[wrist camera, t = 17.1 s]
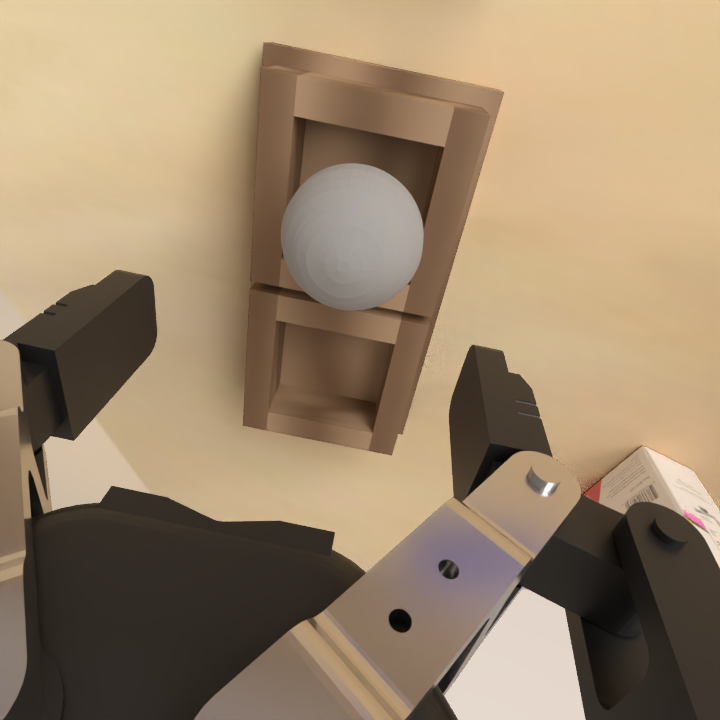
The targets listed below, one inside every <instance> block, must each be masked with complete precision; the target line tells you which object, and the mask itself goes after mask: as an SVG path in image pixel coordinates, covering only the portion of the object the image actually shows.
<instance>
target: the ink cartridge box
mask: <svg viewBox="0 0 720 720" xmlns="http://www.w3.org/2000/svg"><path fill="white" fill-rule="evenodd" d="M583 495H584V496H586V497H587V498H589V499H591V500H593V501H595V502H598V503H600V504H602V505H604V506H607V507H609V508H611V509H613V510H615V511H618V512H620V513H622V514H625V513H626V511H627V510H628V509H629V507H630V506H631V505H633V504H634V503H637V502H652V503H656V504H659V505H662V506H665V507H667V508H669V509H671V510H673V511H675V512H676V513H678V514H680V515H681V516H683V517H684V518H685V519H687V520H688V521H689V522H690V523H691V524H692V525H693V526H695V528H696V529H697V530H698V531H699V532H700V533H701V534H702V536H703V537H704V538H705V540H706V542H707V544H708V546H709V548H710V550H711V552H712V554H713V556H714V558H715V560H716V562H717V564H718V566H719V568H720V511H719V509H718V508H717V506H716V505H715V503H714V501H713V500H712V499H711V497H710V496H709V494H708V493H707V491H706V489H705V488H704V486H703V485H702V483H701V482H700V480H699V479H698V477H697V476H696V474H695V473H694V472H693V470H691V469H689V468H687V467H685V466H683V465H681V464H679V463H677V462H675V461H673V460H671V459H669V458H667V457H665V456H663V455H661V454H659V453H657V452H655V451H653V450H651V449H649V448H647V447H644V446H642V447H640V448H639V449H638V450H636V451H635V452H634V453H633V454H631V455H630V456H629V457H628V458H627V459H625V460H624V461H623V462H622V463H621V464H619V465H618V466H617V467H616V468H615V469H613V470H612V471H611V472H610V473H608V474H607V475H606V476H605V477H604V478H602V479H601V480H600V481H599V482H598V483H596V484H595V485H594V486H593V487H592V488H590V489H589V490H588V491H587V492H586V493H584V494H583Z"/></svg>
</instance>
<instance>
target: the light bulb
mask: <svg viewBox="0 0 720 720" xmlns="http://www.w3.org/2000/svg"><path fill="white" fill-rule="evenodd" d="M423 237H424V232H423V222H422V218H421V214H420V211H419V209H418V206H417V204H416V202H415V200H414V199H413V197H412V195H411V194H410V193H409V191H408V190H407V189H406V188H405V187H404V186H403V185H402V184H401V183H400V182H399V181H398V180H397V179H396V178H394V177H393V176H391V175H390V174H388V173H386V172H385V171H383V170H381V169H378V168H376V167H373V166H369V165H364V164H357V163H346V164H339V165H334V166H331V167H328V168H325V169H323V170H321V171H319V172H317V173H315V174H314V175H312V176H311V177H310V178H308V179H307V180H306V181H305V182H304V183H303V184H302V185H301V186H300V187H299V189H298V190H297V192H296V193H295V194H294V196H293V197H292V199H291V200H290V202H289V204H288V206H287V208H286V210H285V213H284V216H283V220H282V225H281V245H282V250H283V255H284V259H285V262H286V265H287V267H288V270H289V272H290V274H291V275H292V277H293V278H294V280H295V281H296V283H297V284H298V285H299V286H300V287H301V288H302V289H303V290H304V291H305V292H306V293H307V294H308V295H309V296H311V297H312V298H313V299H315V300H316V301H318V302H320V303H322V304H324V305H326V306H329V307H332V308H335V309H340V310H349V311H355V310H365V309H370V308H373V307H376V306H379V305H381V304H383V303H385V302H387V301H389V300H390V299H392V298H393V297H394V296H396V295H397V294H398V293H399V292H400V291H401V290H403V289H404V287H405V286H406V285H407V284H408V283H409V282H410V280H411V279H412V277H413V276H414V274H415V272H416V270H417V268H418V266H419V263H420V260H421V256H422V250H423Z"/></svg>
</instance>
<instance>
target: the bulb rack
mask: <svg viewBox="0 0 720 720" xmlns="http://www.w3.org/2000/svg"><path fill="white" fill-rule="evenodd" d="M503 94H504V92H502V91H501V90H498V89H494V88H489V87H484V86H479V85H474V84H469V83H465V82H460V81H455V80H450V79H445V78H441V77H436V76H431V75H426V74H421V73H416V72H412V71H407V70H402V69H397V68H392V67H388V66H383V65H378V64H373V63H368V62H363V61H359V60H354V59H349V58H344V57H339V56H335V55H330V54H325V53H320V52H315V51H311V50H306V49H301V48H296V47H291V46H286V45H282V44H277V43H264V45H263V64H262V68H261V77H260V97H259V116H258V136H257V156H256V176H255V196H254V216H253V236H252V256H251V276H250V281H251V289H250V295H249V315H248V335H247V355H246V375H245V395H244V415H243V426H247V427H252V428H257V429H262V430H267V431H272V432H277V433H282V434H287V435H292V436H297V437H302V438H307V439H312V440H317V441H322V442H327V443H332V444H337V445H342V446H347V447H352V448H357V449H362V450H367V451H372V452H377V453H382V454H387V455H392V453H393V449H394V446H395V442H396V439H397V435H398V434H403V430H404V427H405V423H406V420H407V417H408V413H409V410H410V407H411V403H412V400H413V397H414V393H415V390H416V386H417V383H418V380H419V376H420V373H421V370H422V366H423V363H424V360H425V356H426V353H427V350H428V346H429V343H430V339H431V336H432V333H433V329H434V326H435V323H436V319H437V316H438V313H439V309H440V306H441V302H442V299H443V296H444V292H445V289H446V286H447V282H448V279H449V276H450V272H451V269H452V266H453V262H454V259H455V255H456V252H457V249H458V245H459V242H460V239H461V235H462V232H463V229H464V225H465V222H466V218H467V215H468V212H469V208H470V205H471V202H472V198H473V195H474V192H475V188H476V185H477V182H478V178H479V175H480V171H481V168H482V165H483V161H484V158H485V155H486V151H487V148H488V145H489V141H490V138H491V134H492V131H493V128H494V124H495V121H496V118H497V114H498V111H499V108H500V104H501V101H502V98H503ZM346 163H357V164H364V165H369V166H373V167H376V168H378V169H381V170H383V171H385V172H386V173H388V174H390V175H391V176H393V177H394V178H396V179H397V180H398V181H399V182H400V183H401V184H402V185H403V186H404V187H405V188H406V189H407V190H408V191H409V193H410V194H411V195H412V197H413V199H414V200H415V202H416V204H417V206H418V209H419V211H420V214H421V218H422V222H423V232H424V237H423V250H422V256H421V260H420V263H419V266H418V268H417V270H416V272H415V274H414V276H413V277H412V279H411V280H410V282H409V283H408V284H407V285H406V286H405V287H404V289H403V290H401V291H400V292H399V293H398V294H397V295H396V296H394V297H393V298H392V299H390V300H389V301H387V302H385V303H383V304H381V305H379V306H376V307H373V308H370V309H365V310H355V311H349V310H340V309H335V308H332V307H329V306H326V305H324V304H322V303H320V302H318V301H316V300H315V299H313V298H312V297H311V296H309V295H308V294H307V293H306V292H305V291H304V290H303V289H302V288H301V287H300V286H299V285H298V284H297V283H296V281H295V280H294V278H293V277H292V275H291V274H290V272H289V270H288V267H287V265H286V262H285V259H284V255H283V250H282V245H281V225H282V220H283V216H284V213H285V210H286V208H287V206H288V204H289V202H290V200H291V199H292V197H293V196H294V194H295V193H296V192H297V190H298V189H299V187H300V186H301V185H302V184H303V183H304V182H305V181H306V180H307V179H308V178H310V177H311V176H312V175H314V174H315V173H317V172H319V171H321V170H323V169H325V168H328V167H331V166H334V165H339V164H346Z"/></svg>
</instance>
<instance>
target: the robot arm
mask: <svg viewBox="0 0 720 720" xmlns="http://www.w3.org/2000/svg"><path fill="white" fill-rule="evenodd" d="M156 337H157V324H156V310H155V296H154V285H153V281H152V279H151V278H150V277H149V276H146V275H141V274H136V273H131V272H127V271H122V270H116V271H114V272H112V273H111V274H110V275H108V276H107V277H106V278H104V279H103V280H102V281H100V282H99V283H97V284H96V285H90V286H87V287H84V288H81V289H78V290H75V291H72V292H70V293H69V294H67V295H66V296H64V297H63V298H62V299H60V300H59V301H57V302H56V305H52V306H50V307H49V308H47V309H46V310H45V311H44V313H43V314H42V313H40V314H39V315H37V316H36V317H35V318H33V319H32V320H30V321H29V322H28V323H26V324H25V325H23V326H22V327H21V328H19V329H18V330H16V331H15V332H13V333H12V334H10V335H9V336H8V337H6V338H5V339H3V340H0V720H458V719H457V717H456V715H455V714H454V712H453V710H452V709H451V707H450V705H449V704H448V702H447V700H446V698H445V697H444V695H445V694H446V692H447V691H448V690H449V688H450V687H451V686H452V684H453V683H454V681H455V680H456V679H457V677H458V676H459V674H460V673H461V672H462V670H463V669H464V667H465V666H466V664H467V663H468V661H469V660H470V658H471V657H472V655H473V654H474V653H475V651H476V650H477V648H478V647H479V646H480V644H481V643H482V642H483V640H484V639H485V638H486V636H487V635H488V634H489V632H490V631H491V629H492V628H493V627H494V626H495V624H496V623H497V621H498V620H499V619H500V617H501V616H502V615H503V613H504V612H505V611H506V609H507V608H508V607H509V605H510V604H511V603H512V601H513V600H514V599H515V597H516V596H517V594H518V593H519V592H520V591H521V589H522V588H523V587H525V588H527V589H529V590H531V591H533V592H535V593H537V594H538V595H540V596H542V597H544V598H546V599H548V600H550V601H552V602H554V603H556V604H558V605H559V606H561V607H563V608H565V611H566V616H567V622H568V627H569V632H570V638H571V643H572V649H573V653H574V659H575V665H576V670H577V676H578V681H579V686H580V692H581V697H582V702H583V708H584V713H585V718H586V720H720V568H719V566H718V564H717V562H716V560H715V558H714V556H713V554H712V552H711V550H710V548H709V546H708V544H707V542H706V540H705V538H704V537H703V536H702V534H701V533H700V532H699V531H698V530H697V529H696V528H695V526H693V525H692V524H691V523H690V522H689V521H688V520H687V519H685V518H684V517H683V516H681V515H680V514H678V513H676V512H675V511H673V510H671V509H669V508H667V507H665V506H662V505H659V504H656V503H652V502H637V503H634V504H633V505H631V506H630V507H629V509H628V510H627V511H626V513H625V514H622V513H620V512H618V511H615V510H613V509H611V508H609V507H607V506H604V505H602V504H600V503H598V502H595V501H593V500H591V499H589V498H587V497H586V496H584V495H582V494H581V488H580V484H579V482H578V480H577V478H576V477H575V476H574V474H573V473H572V472H571V471H570V470H569V469H568V468H567V467H566V466H565V465H564V464H562V463H561V462H559V461H558V460H556V459H554V458H553V456H552V453H551V450H550V447H549V443H548V440H547V437H546V434H545V430H544V427H543V424H542V420H541V419H540V414H539V411H538V407H537V406H536V401H535V398H534V394H533V391H532V389H531V387H530V386H529V385H528V384H527V383H526V382H525V380H524V379H523V378H522V377H521V376H520V375H519V374H514V373H509V372H508V368H507V364H506V360H505V356H504V353H503V351H501V350H496V349H491V348H487V347H482V346H477V345H472V346H471V347H470V349H469V351H468V353H467V356H466V359H465V362H464V364H463V367H462V370H461V373H460V376H459V378H458V381H457V384H456V387H455V390H454V392H453V396H452V399H451V404H450V410H449V426H450V443H451V459H452V475H453V492H454V497H453V498H451V499H450V500H448V501H447V502H446V503H444V504H443V505H442V506H441V507H440V508H439V509H438V510H437V511H435V512H434V513H433V514H432V515H431V516H430V517H429V518H428V519H426V520H425V521H424V522H423V523H422V524H421V525H420V526H419V527H417V528H416V529H415V530H414V531H413V532H412V533H411V534H410V535H408V536H407V537H406V538H405V539H404V540H403V541H402V542H401V543H399V544H398V545H397V546H396V547H395V548H394V549H393V550H392V551H390V552H389V553H388V554H387V555H386V556H385V557H384V558H383V559H381V560H380V561H379V562H378V563H377V564H376V565H375V566H374V567H372V568H371V569H370V570H369V571H368V572H367V573H366V572H365V571H364V570H362V569H361V568H360V567H359V566H358V565H356V564H355V563H354V562H353V561H351V560H349V559H348V558H346V557H345V556H343V555H341V554H339V553H337V552H335V551H333V550H332V545H333V540H334V534H335V532H331V531H326V530H321V529H316V528H311V527H307V526H302V525H297V524H292V523H288V522H283V521H242V522H220V521H216V520H213V519H211V518H209V517H207V516H205V515H203V514H200V513H198V512H196V511H194V510H192V509H190V508H188V507H186V506H184V505H182V504H180V503H178V502H175V501H173V500H171V499H169V498H167V497H163V496H158V495H153V494H148V493H143V492H138V491H134V490H129V489H124V488H120V487H115V486H111V488H110V489H109V491H108V492H107V494H106V495H105V496H104V498H103V499H102V501H101V502H100V503H92V504H83V505H75V506H70V507H65V508H61V509H58V510H54V511H52V505H51V496H50V487H49V478H48V469H47V460H46V452H45V449H44V445H43V443H44V442H45V441H46V440H47V439H48V438H49V437H50V436H54V437H59V438H64V439H68V440H73V441H74V440H75V439H76V438H77V437H78V435H79V434H80V433H81V432H82V431H83V430H84V429H85V428H86V426H87V425H88V424H89V423H90V422H91V421H92V420H93V419H94V417H95V416H96V415H97V414H98V413H99V412H100V411H101V409H102V408H103V407H104V406H105V405H106V404H107V403H108V402H109V400H110V399H111V398H112V397H113V396H114V395H115V394H116V393H117V391H118V390H119V389H120V388H121V387H122V386H123V385H124V383H125V382H126V381H127V380H128V379H129V378H130V377H131V376H132V374H133V373H134V372H135V371H136V370H137V369H138V368H139V366H140V365H141V364H142V363H143V362H144V361H145V360H146V359H147V357H148V356H149V355H150V354H151V352H152V350H153V348H154V346H155V342H156Z"/></svg>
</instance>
